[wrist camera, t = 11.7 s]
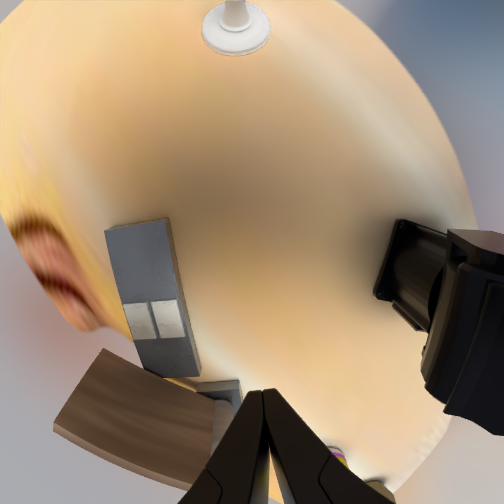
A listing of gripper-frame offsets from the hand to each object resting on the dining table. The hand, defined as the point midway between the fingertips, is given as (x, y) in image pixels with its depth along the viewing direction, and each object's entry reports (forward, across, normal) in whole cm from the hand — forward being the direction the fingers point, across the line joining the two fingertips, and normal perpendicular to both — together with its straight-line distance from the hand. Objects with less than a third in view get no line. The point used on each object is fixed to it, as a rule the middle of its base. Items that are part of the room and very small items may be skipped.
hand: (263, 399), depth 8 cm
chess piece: (+13, -1, -18) cm, 22 cm away
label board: (+13, +6, +5) cm, 15 cm away
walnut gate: (+12, +8, +9) cm, 17 cm away
